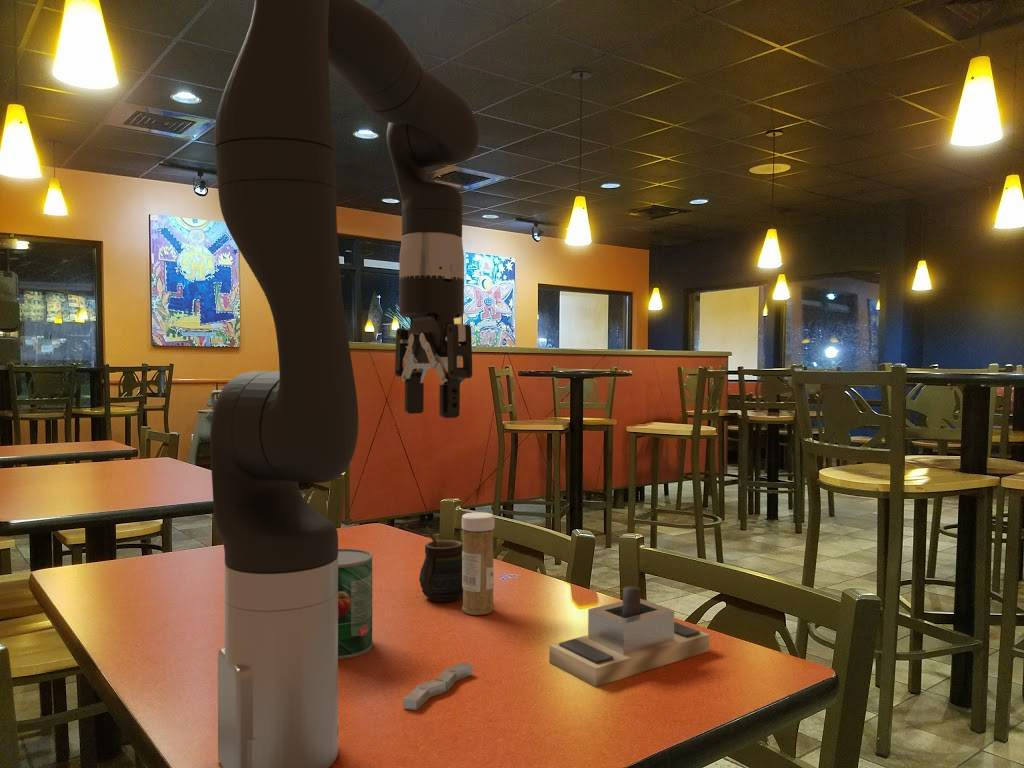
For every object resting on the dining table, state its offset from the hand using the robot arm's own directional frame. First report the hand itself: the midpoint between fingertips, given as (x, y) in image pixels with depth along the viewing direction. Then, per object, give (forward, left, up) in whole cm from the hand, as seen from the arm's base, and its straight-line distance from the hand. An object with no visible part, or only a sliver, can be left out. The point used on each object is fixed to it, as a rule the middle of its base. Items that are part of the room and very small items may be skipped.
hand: (431, 415), depth 87 cm
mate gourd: (+12, +18, -28) cm, 36 cm away
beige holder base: (+19, -14, -28) cm, 37 cm away
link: (+19, -14, -26) cm, 35 cm away
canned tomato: (-8, +8, -28) cm, 30 cm away
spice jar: (+13, +10, -28) cm, 33 cm away
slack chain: (-4, -9, -28) cm, 30 cm away
